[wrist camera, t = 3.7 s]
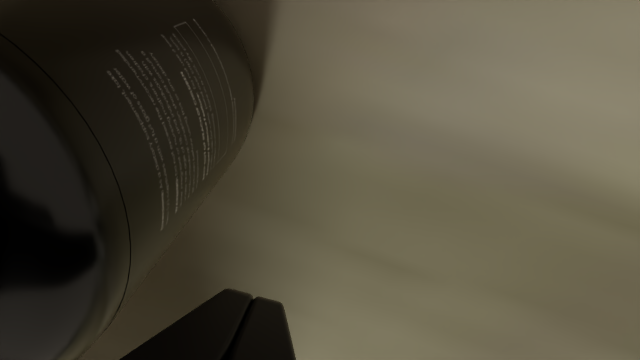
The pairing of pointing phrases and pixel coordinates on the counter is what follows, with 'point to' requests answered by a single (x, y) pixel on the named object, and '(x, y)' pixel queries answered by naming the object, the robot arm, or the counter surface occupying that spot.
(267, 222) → the counter surface
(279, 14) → the counter surface
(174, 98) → the supplement bottle
